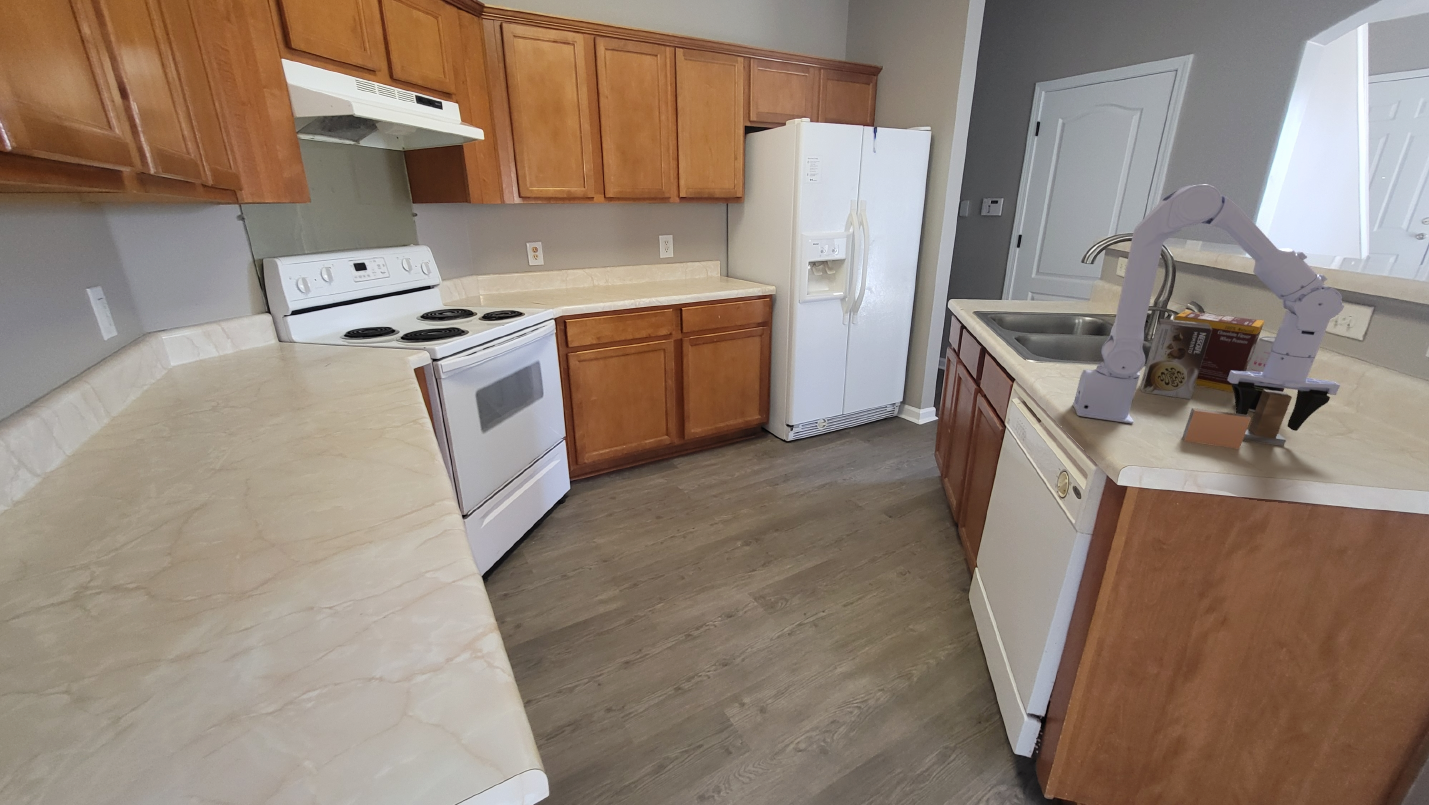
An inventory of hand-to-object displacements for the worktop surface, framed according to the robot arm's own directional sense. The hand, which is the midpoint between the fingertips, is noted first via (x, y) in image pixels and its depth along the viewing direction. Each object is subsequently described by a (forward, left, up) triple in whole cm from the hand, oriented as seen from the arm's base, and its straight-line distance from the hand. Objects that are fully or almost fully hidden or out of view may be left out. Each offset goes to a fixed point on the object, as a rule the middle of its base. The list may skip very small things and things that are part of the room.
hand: (1265, 425), depth 105 cm
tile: (-9, -6, -3) cm, 11 cm away
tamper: (0, 0, -3) cm, 3 cm away
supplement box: (+1, +40, -3) cm, 40 cm away
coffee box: (-9, +25, -3) cm, 27 cm away
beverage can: (+6, +21, -3) cm, 22 cm away
